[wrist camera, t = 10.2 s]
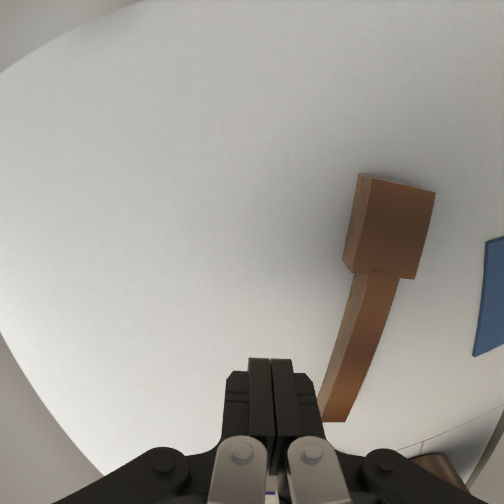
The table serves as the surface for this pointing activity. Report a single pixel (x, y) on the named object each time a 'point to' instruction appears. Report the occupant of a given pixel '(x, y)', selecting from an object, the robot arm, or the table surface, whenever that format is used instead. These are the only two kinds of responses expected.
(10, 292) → the table surface
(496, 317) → the cloth
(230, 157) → the table surface
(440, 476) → the plant pot
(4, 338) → the table surface
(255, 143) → the table surface
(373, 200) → the wooden mallet
